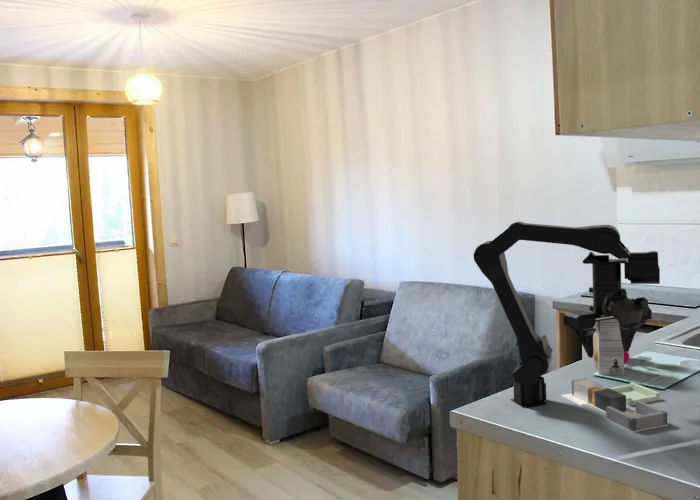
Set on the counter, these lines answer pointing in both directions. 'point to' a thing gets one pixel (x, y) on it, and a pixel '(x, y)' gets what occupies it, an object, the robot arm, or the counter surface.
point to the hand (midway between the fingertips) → (608, 354)
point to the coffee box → (608, 348)
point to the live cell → (608, 399)
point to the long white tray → (628, 415)
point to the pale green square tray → (637, 393)
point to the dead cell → (584, 389)
